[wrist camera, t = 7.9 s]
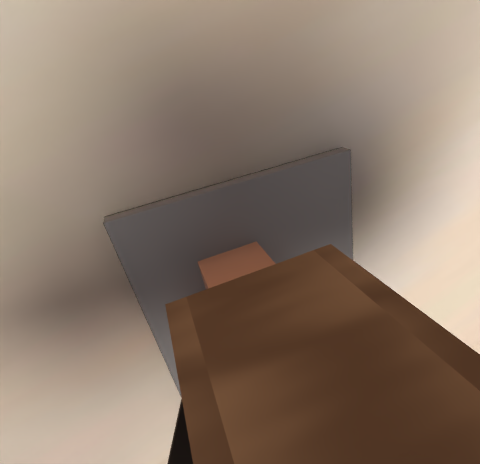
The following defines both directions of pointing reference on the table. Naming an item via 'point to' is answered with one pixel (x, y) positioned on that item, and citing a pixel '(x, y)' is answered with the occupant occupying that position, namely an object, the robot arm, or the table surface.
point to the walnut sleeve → (321, 371)
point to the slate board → (231, 230)
